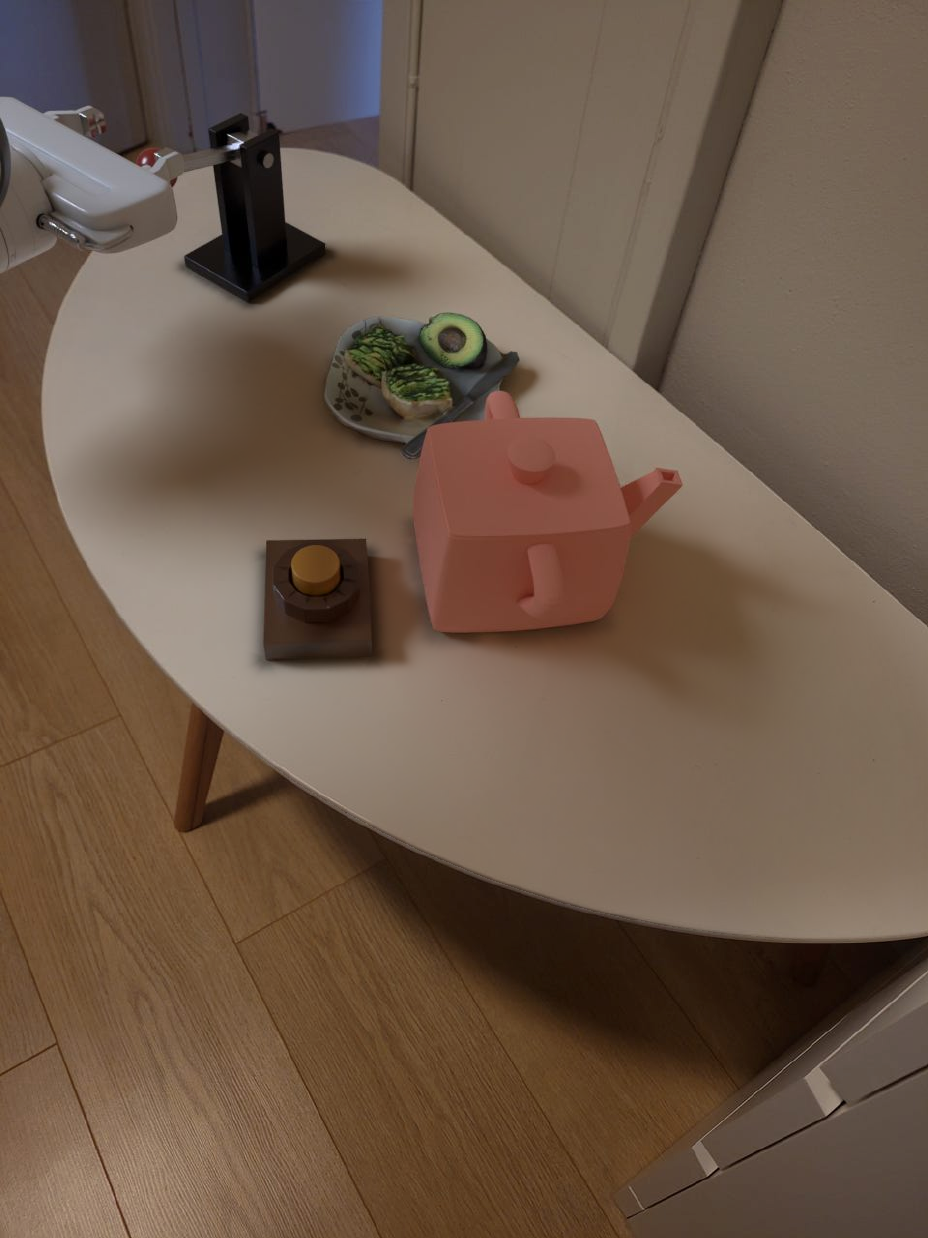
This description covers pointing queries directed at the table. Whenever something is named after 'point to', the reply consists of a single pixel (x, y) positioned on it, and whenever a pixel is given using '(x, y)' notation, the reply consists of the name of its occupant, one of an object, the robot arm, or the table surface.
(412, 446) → the plate of avocado toast
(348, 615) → the button block
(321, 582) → the button
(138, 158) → the lever
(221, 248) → the bracket
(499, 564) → the teapot
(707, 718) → the table surface
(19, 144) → the robot arm
